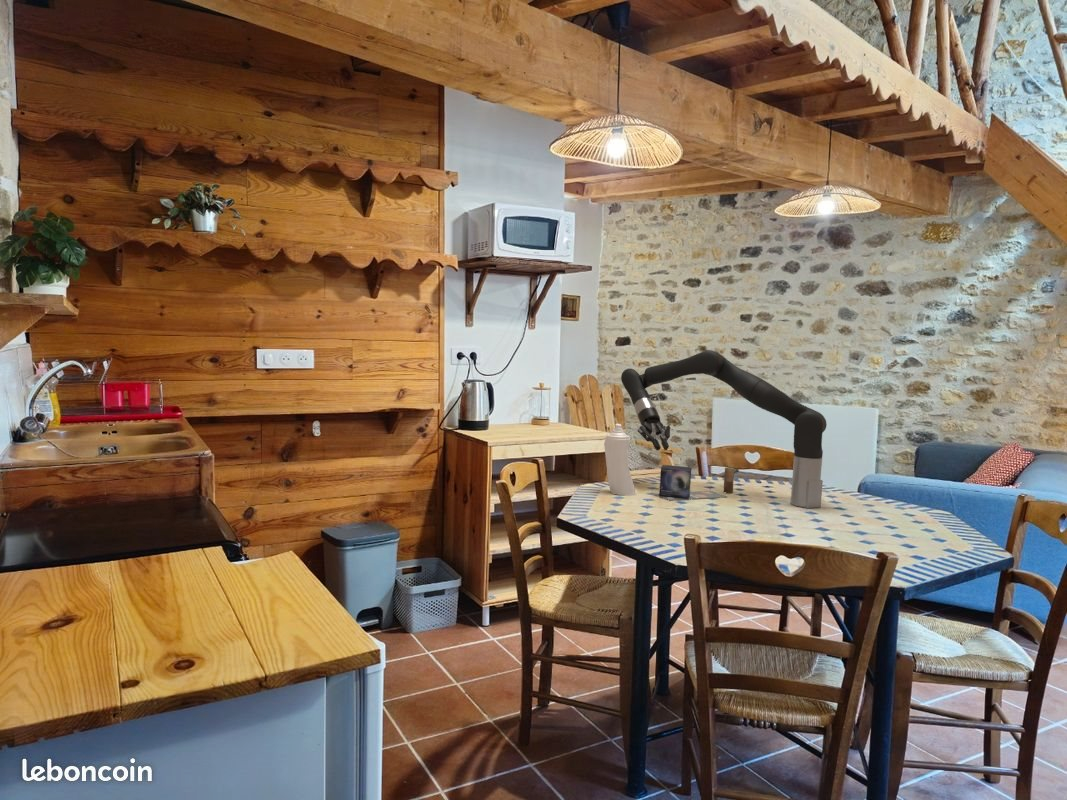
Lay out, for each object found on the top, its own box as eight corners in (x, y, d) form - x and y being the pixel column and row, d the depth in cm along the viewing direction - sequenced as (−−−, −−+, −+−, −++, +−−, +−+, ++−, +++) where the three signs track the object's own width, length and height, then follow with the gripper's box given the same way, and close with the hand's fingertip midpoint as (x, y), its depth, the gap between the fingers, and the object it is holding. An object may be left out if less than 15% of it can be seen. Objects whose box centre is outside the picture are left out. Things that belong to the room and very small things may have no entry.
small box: (658, 496, 249) (660, 467, 248) (660, 492, 255) (662, 464, 254) (688, 499, 246) (690, 470, 245) (690, 495, 252) (691, 467, 251)
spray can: (613, 496, 246) (617, 426, 244) (597, 490, 256) (600, 422, 254) (640, 494, 252) (644, 425, 250) (623, 488, 261) (627, 422, 259)
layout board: (727, 497, 253) (727, 496, 253) (669, 500, 243) (669, 500, 243) (710, 491, 262) (710, 490, 262) (653, 494, 253) (653, 493, 253)
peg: (734, 493, 261) (736, 469, 260) (727, 493, 260) (728, 469, 259) (728, 491, 264) (730, 467, 264) (721, 491, 263) (723, 468, 262)
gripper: (635, 406, 262) (651, 443, 252) (666, 406, 267) (683, 442, 257) (626, 418, 267) (642, 455, 257) (657, 418, 273) (674, 454, 262)
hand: (662, 448), depth 257 cm, fingers open, 3 cm apart
